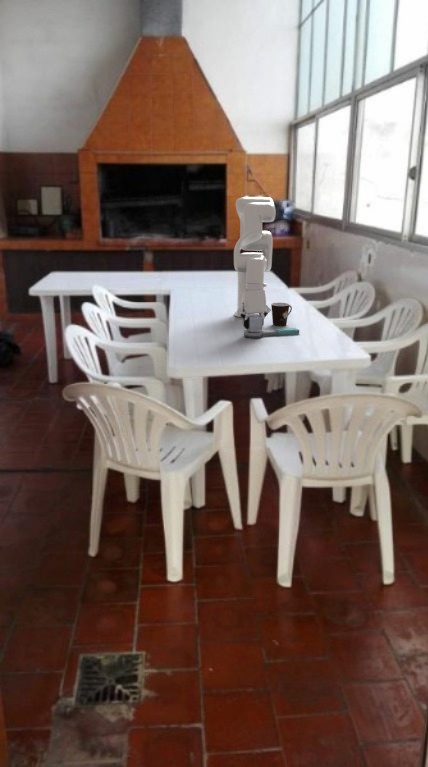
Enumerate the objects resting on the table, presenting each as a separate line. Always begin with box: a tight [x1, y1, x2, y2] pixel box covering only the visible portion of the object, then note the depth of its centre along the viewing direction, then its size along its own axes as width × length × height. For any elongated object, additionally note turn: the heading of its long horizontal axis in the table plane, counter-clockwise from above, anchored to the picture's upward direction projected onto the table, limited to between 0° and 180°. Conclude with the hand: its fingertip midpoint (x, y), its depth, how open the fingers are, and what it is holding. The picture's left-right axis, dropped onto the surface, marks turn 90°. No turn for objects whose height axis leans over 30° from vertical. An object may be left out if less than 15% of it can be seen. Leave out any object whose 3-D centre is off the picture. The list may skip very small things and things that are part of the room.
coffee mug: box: [270, 302, 293, 328], centre depth 279 cm, size 12×9×10 cm
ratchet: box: [243, 327, 300, 340], centre depth 259 cm, size 8×26×6 cm, turn 108°
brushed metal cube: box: [244, 314, 264, 331], centre depth 256 cm, size 6×6×6 cm
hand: (253, 327), depth 256 cm, fingers closed on brushed metal cube, 6 cm apart
